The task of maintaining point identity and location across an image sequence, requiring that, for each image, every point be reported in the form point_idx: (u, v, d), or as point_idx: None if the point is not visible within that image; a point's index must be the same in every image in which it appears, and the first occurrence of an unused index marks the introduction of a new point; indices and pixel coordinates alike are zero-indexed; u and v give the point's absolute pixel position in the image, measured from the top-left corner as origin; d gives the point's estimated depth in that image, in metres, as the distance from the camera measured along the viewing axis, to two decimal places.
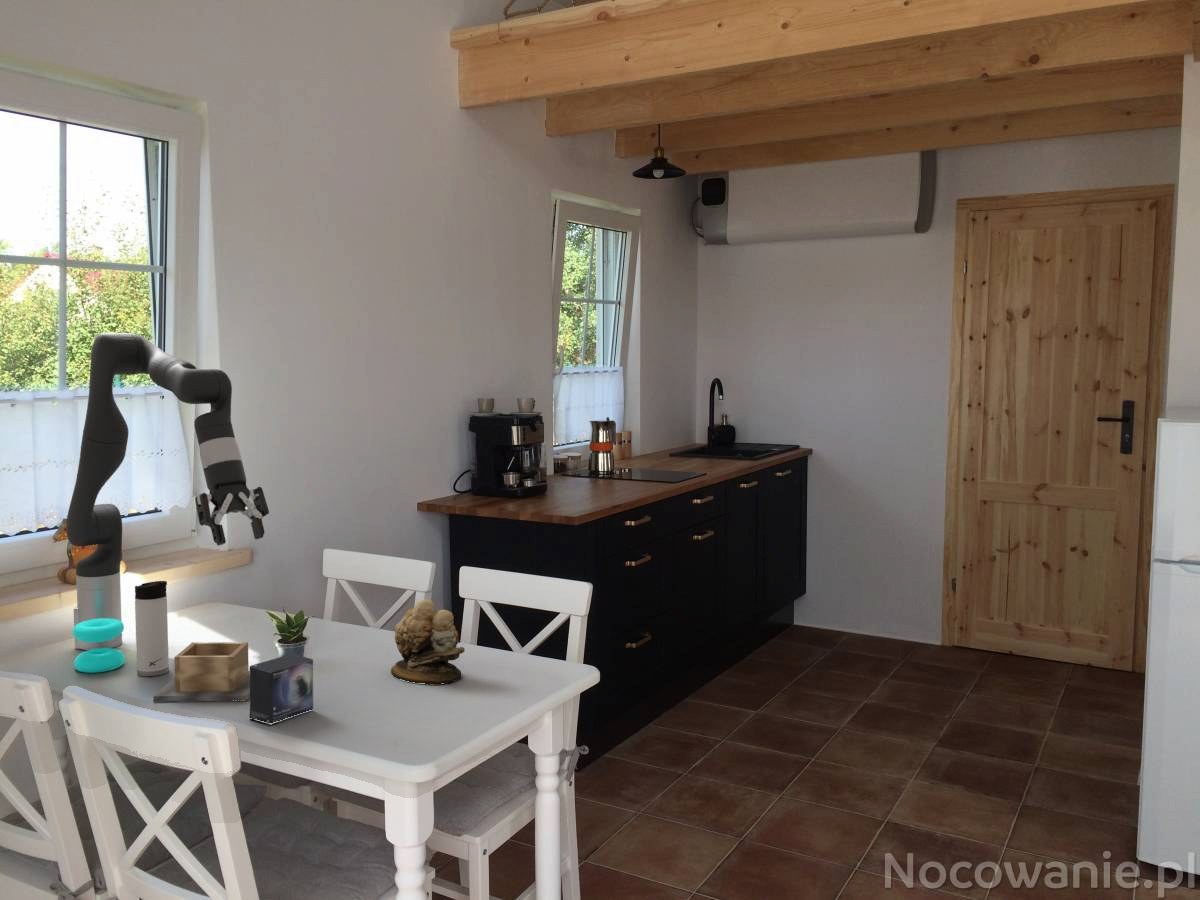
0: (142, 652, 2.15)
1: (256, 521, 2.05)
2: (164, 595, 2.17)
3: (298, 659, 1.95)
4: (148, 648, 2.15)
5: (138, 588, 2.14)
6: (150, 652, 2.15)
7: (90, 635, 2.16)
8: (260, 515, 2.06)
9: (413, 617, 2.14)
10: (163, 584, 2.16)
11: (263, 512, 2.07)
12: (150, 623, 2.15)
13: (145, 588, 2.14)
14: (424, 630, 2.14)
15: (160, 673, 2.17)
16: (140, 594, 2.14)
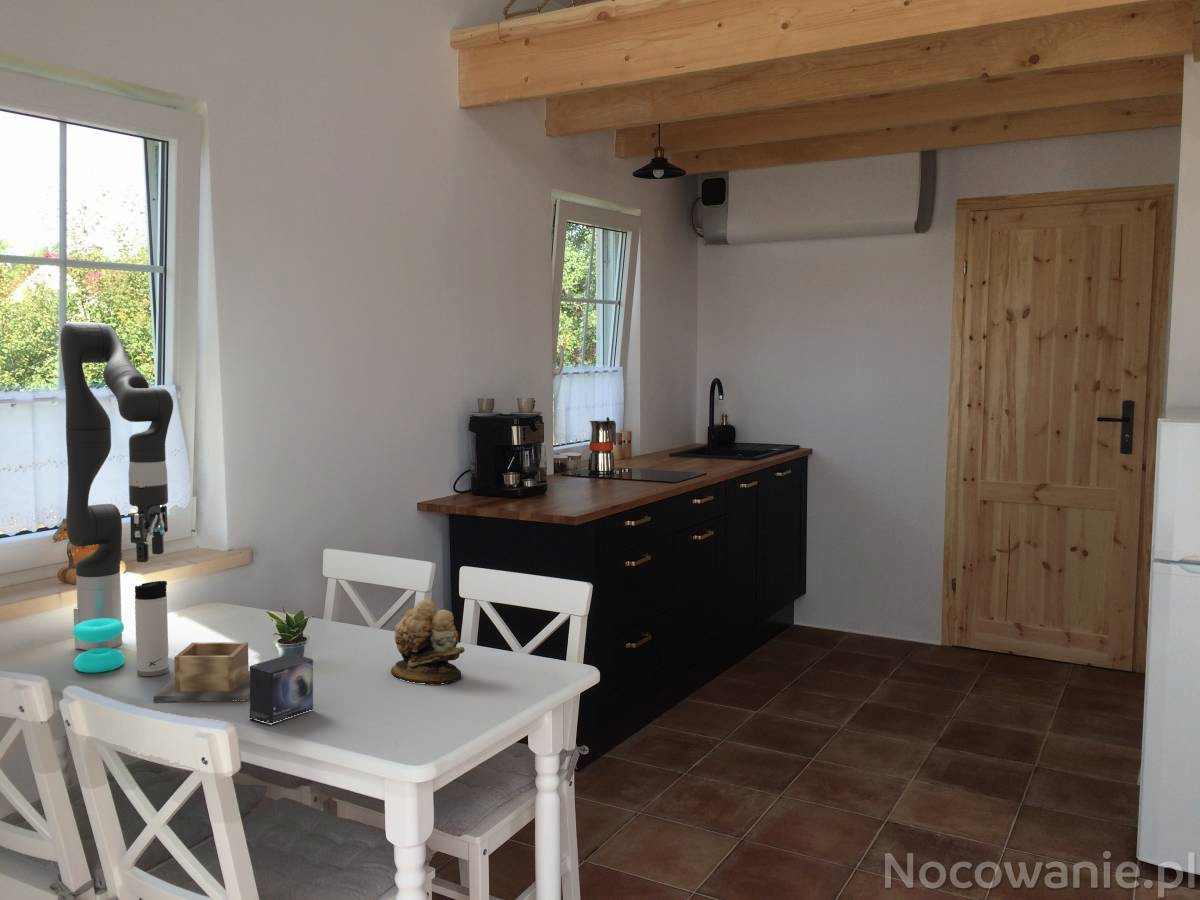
0: (142, 652, 2.15)
1: (160, 538, 2.20)
2: (164, 595, 2.17)
3: (298, 659, 1.95)
4: (148, 648, 2.15)
5: (138, 588, 2.14)
6: (150, 652, 2.15)
7: (90, 635, 2.16)
8: (164, 533, 2.21)
9: (413, 617, 2.14)
10: (163, 584, 2.16)
11: (164, 530, 2.22)
12: (150, 623, 2.15)
13: (145, 588, 2.14)
14: (424, 630, 2.14)
15: (160, 673, 2.17)
16: (140, 594, 2.14)
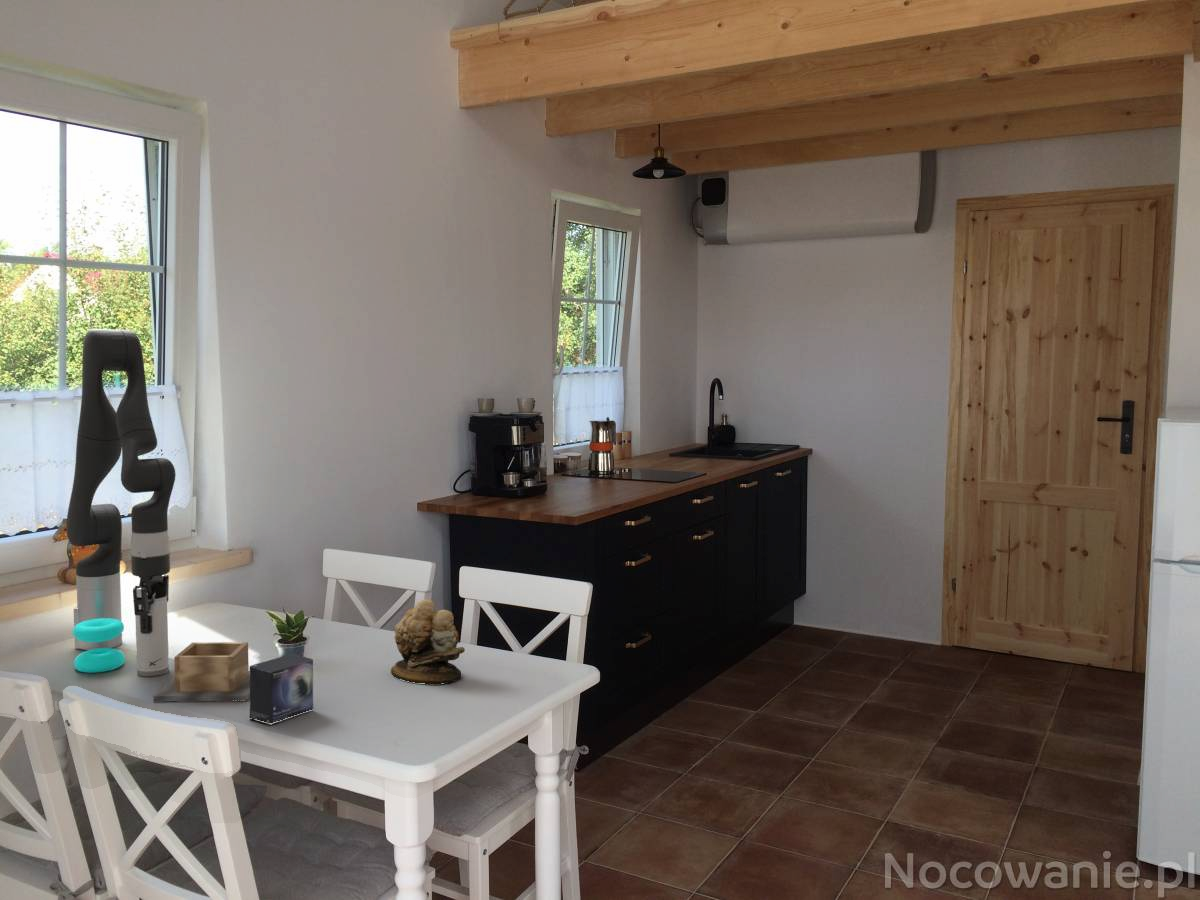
0: (142, 652, 2.15)
1: None
2: (164, 595, 2.17)
3: (298, 659, 1.95)
4: (148, 648, 2.15)
5: None
6: (150, 652, 2.15)
7: (90, 635, 2.16)
8: None
9: (413, 617, 2.14)
10: (163, 584, 2.16)
11: None
12: None
13: None
14: (424, 630, 2.14)
15: (160, 673, 2.17)
16: None
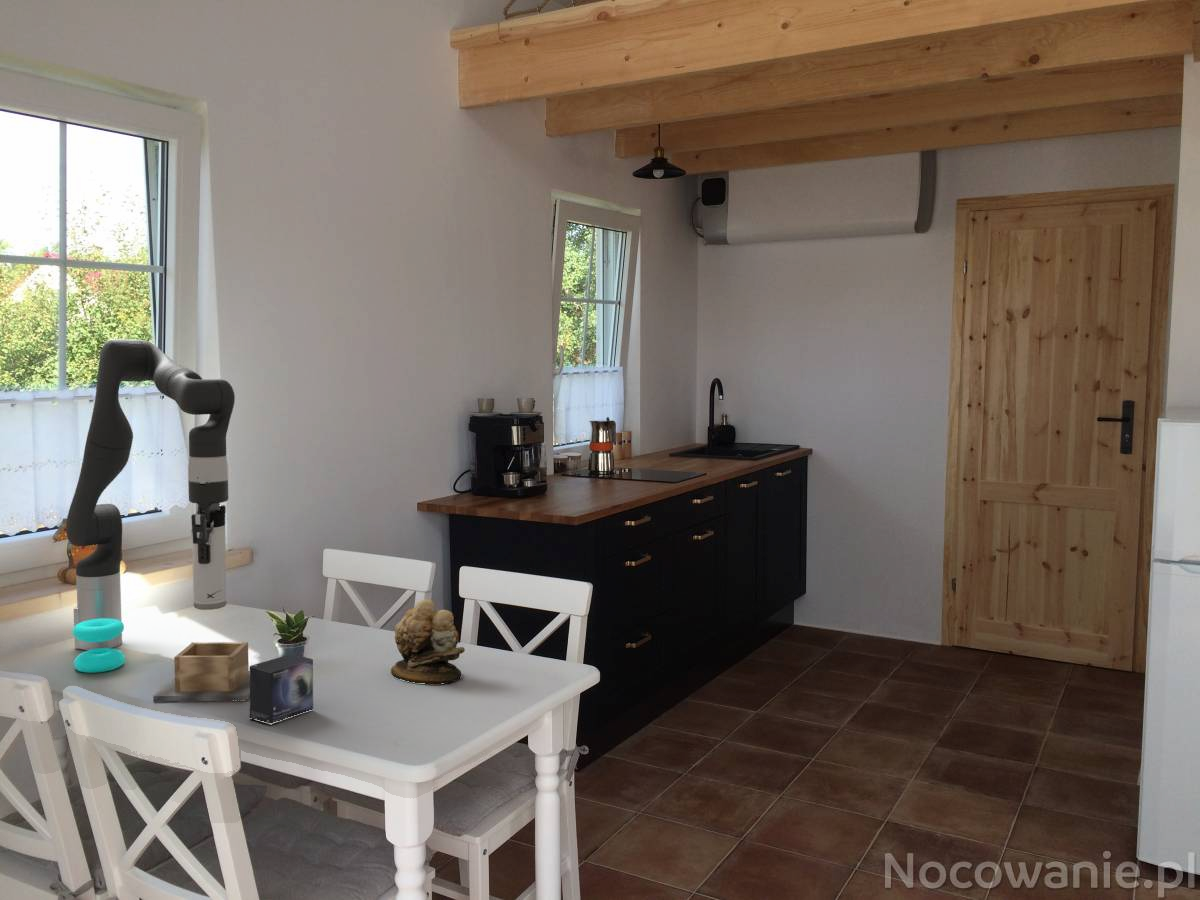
0: (200, 583, 2.04)
1: None
2: (223, 524, 2.06)
3: (298, 659, 1.95)
4: (206, 579, 2.04)
5: None
6: (208, 584, 2.04)
7: (90, 635, 2.16)
8: None
9: (413, 617, 2.14)
10: (222, 512, 2.04)
11: None
12: None
13: None
14: (424, 630, 2.14)
15: (218, 606, 2.05)
16: None
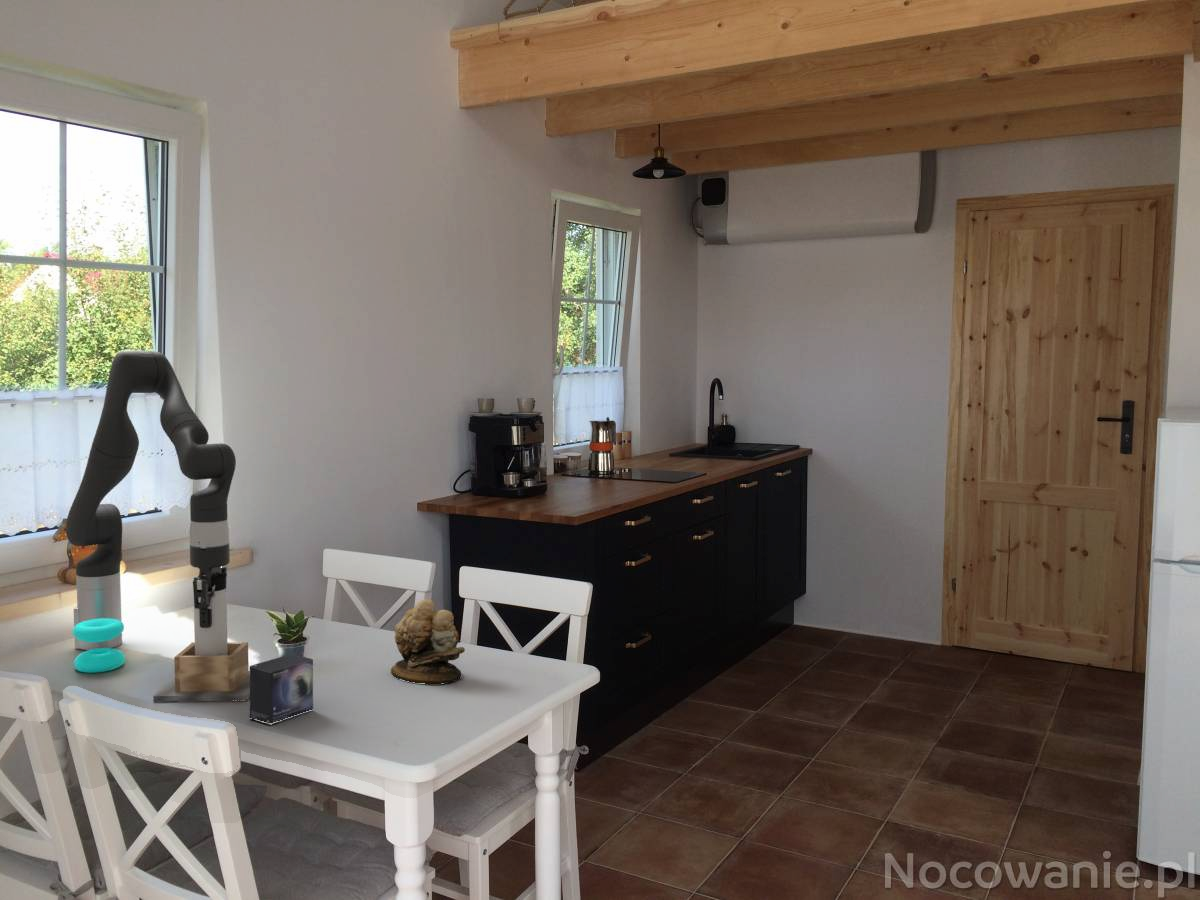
0: (201, 647, 2.05)
1: None
2: (224, 587, 2.07)
3: (298, 659, 1.95)
4: (207, 643, 2.05)
5: None
6: (209, 647, 2.05)
7: (90, 635, 2.16)
8: None
9: (413, 617, 2.14)
10: (223, 576, 2.06)
11: None
12: None
13: None
14: (424, 630, 2.14)
15: None
16: None
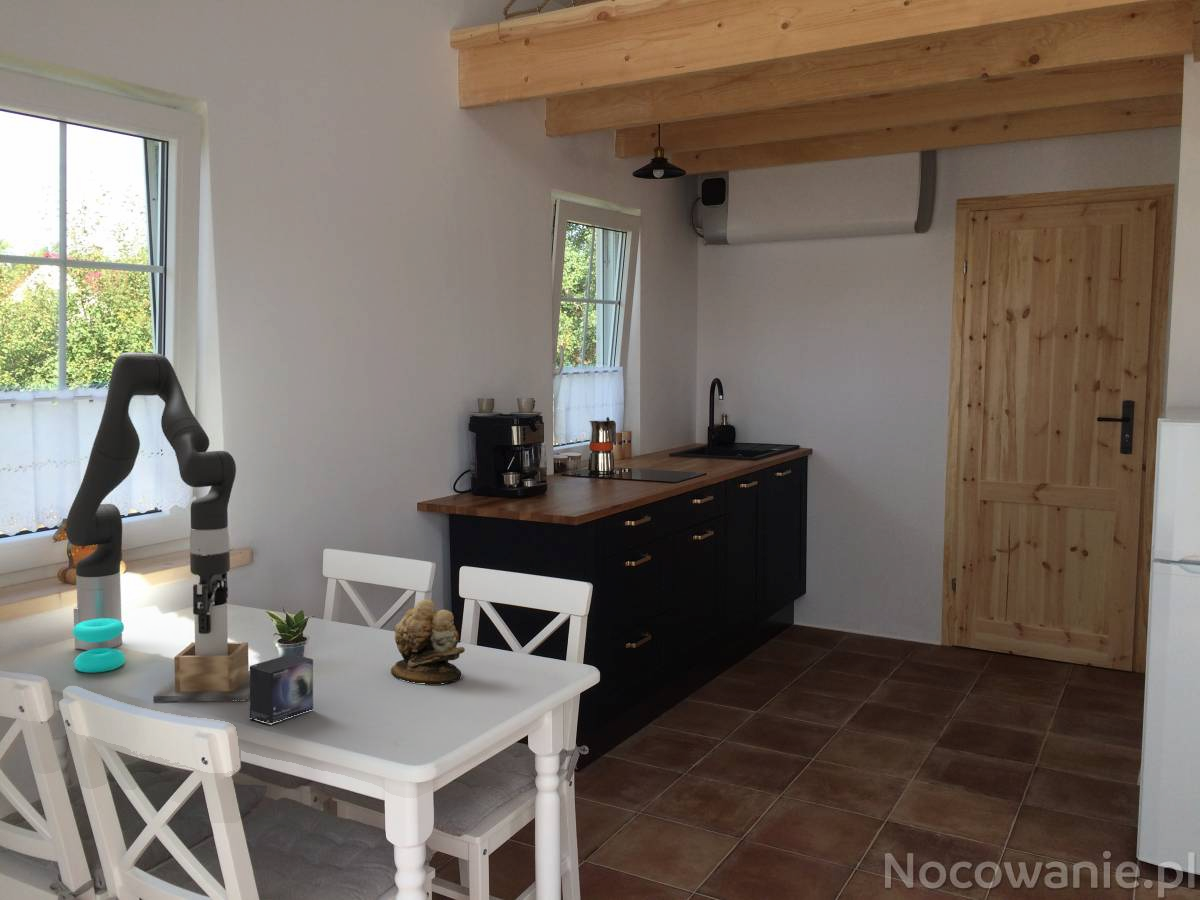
0: None
1: None
2: (225, 601, 2.07)
3: (298, 659, 1.95)
4: None
5: None
6: None
7: (90, 635, 2.16)
8: None
9: (413, 617, 2.14)
10: (224, 590, 2.06)
11: None
12: (211, 631, 2.05)
13: None
14: (424, 630, 2.14)
15: None
16: None
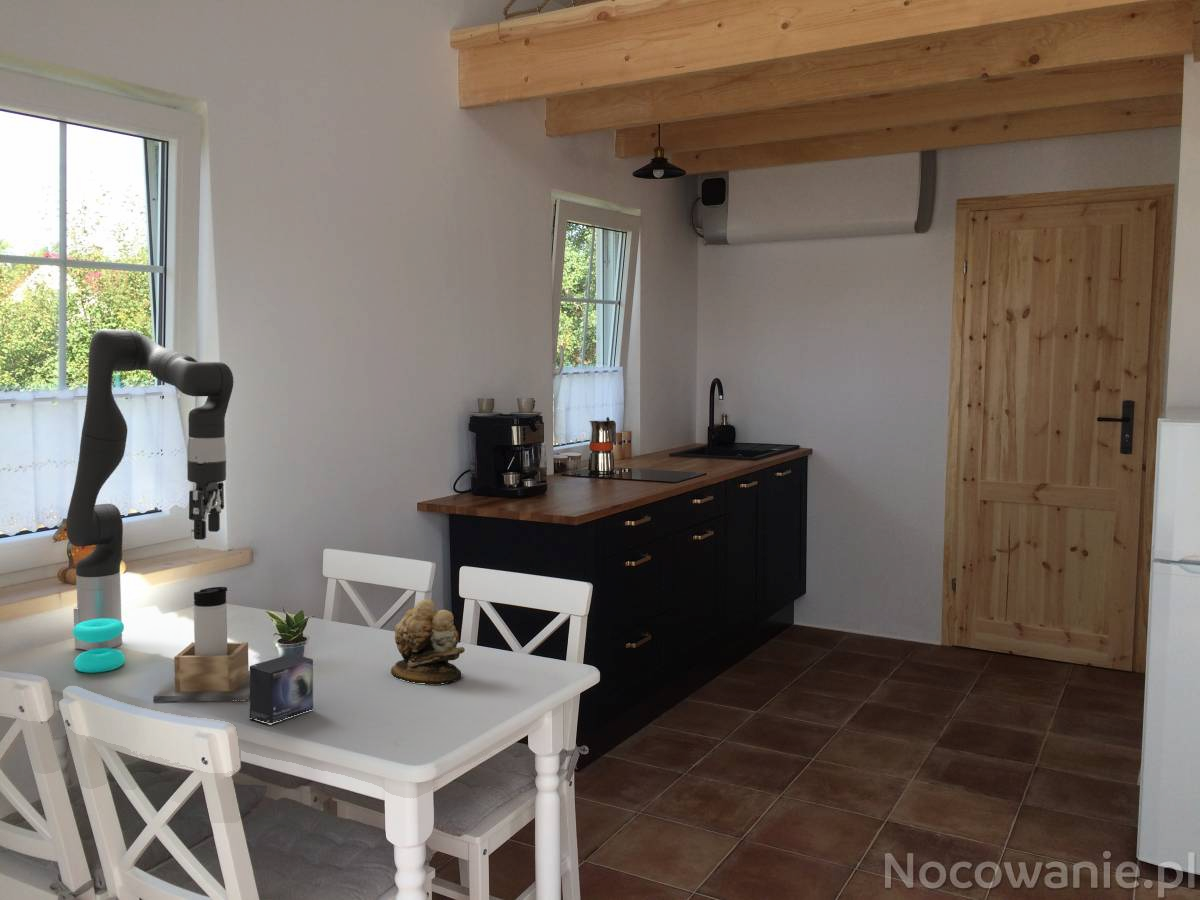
0: None
1: (217, 516, 2.16)
2: (224, 602, 2.07)
3: (298, 659, 1.95)
4: None
5: (198, 594, 2.04)
6: None
7: (90, 635, 2.16)
8: (220, 510, 2.17)
9: (413, 617, 2.14)
10: (223, 590, 2.06)
11: (221, 507, 2.18)
12: (210, 631, 2.05)
13: (205, 594, 2.04)
14: (424, 630, 2.14)
15: None
16: (200, 601, 2.04)
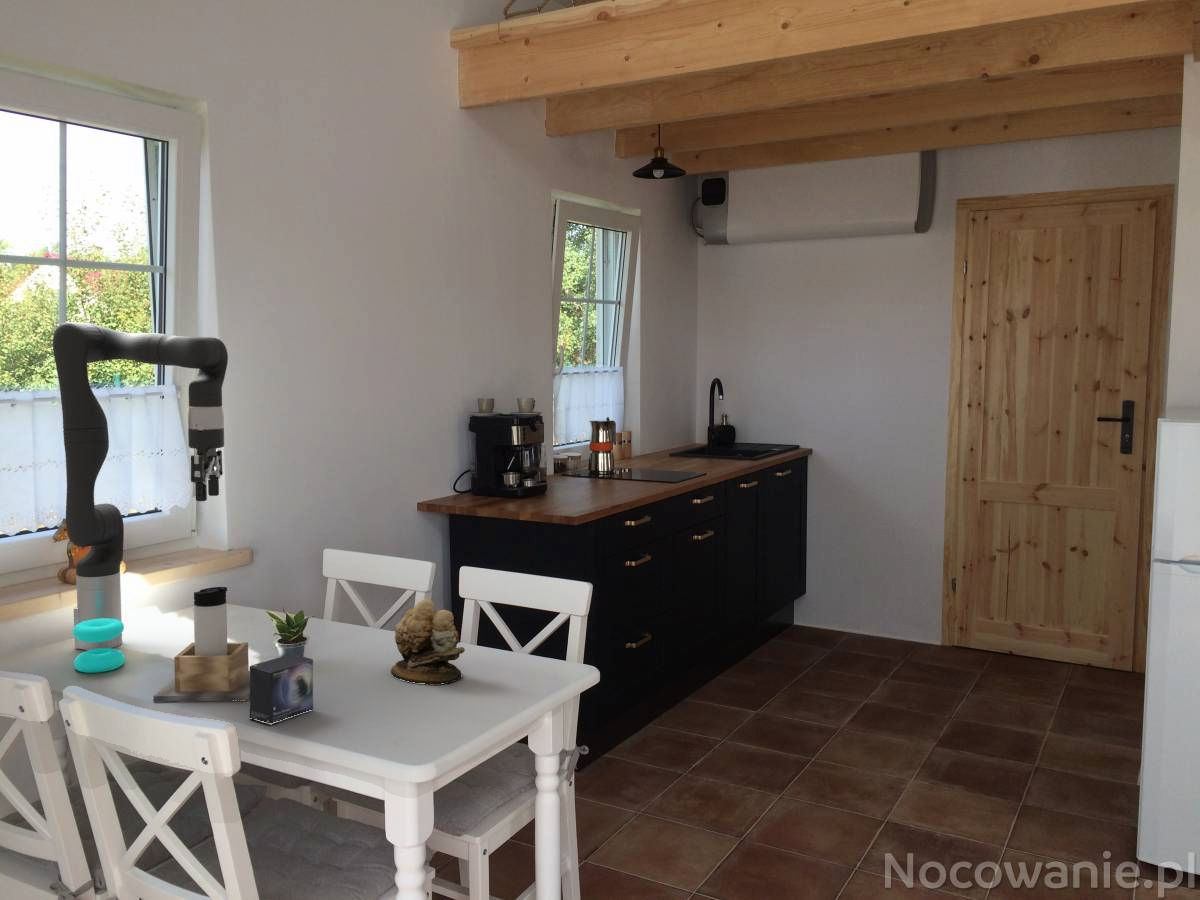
0: None
1: (216, 481, 2.33)
2: (224, 602, 2.07)
3: (298, 659, 1.95)
4: None
5: (198, 594, 2.04)
6: None
7: (90, 635, 2.16)
8: (219, 476, 2.34)
9: (413, 617, 2.14)
10: (223, 590, 2.06)
11: (219, 473, 2.34)
12: (210, 631, 2.05)
13: (205, 594, 2.04)
14: (424, 630, 2.14)
15: None
16: (200, 601, 2.04)
